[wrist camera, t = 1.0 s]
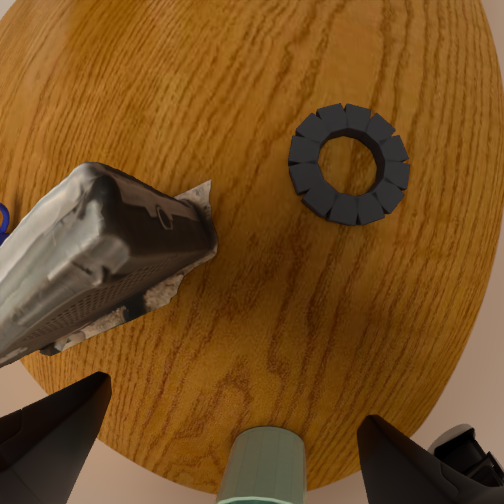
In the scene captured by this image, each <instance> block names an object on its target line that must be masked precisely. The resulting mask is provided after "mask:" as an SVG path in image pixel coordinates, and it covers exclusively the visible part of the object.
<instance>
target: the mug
mask: <svg viewBox="0 0 504 504" xmlns="http://www.w3.org/2000/svg"><path fill="white" fill-rule="evenodd" d="M0 210H1V211H2V213H3V223H2V226H1V227H0V247H1V245H2V244H3V242H4V241H5V239H6V238H7V237H8V236H9V235H10V234H8V233H5V231H6V229H7V227H8V224H9V211H8V209H7V208H6V207H5V206H4V205H3V204H2V203H0Z"/></svg>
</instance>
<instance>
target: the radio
mask: <svg viewBox="0 0 504 504" xmlns="http://www.w3.org/2000/svg"><path fill="white" fill-rule="evenodd" d="M210 183H211V179H210V180H208V181H206V182H204V183H202V184H201V185H199V186H197V187H195V188H193V189H191V190H189V191H187V192H184V193H182V194H180V195H178V196H176V197H174V198H173V197H170V196H168V195H166V194H163V193H161V192H160V191H158V190H156V189H154V188H153V187H152V186H149V185H147V184H145V183H143V182H141V181H140V180H138V179H136V178H135V177H133V176H131V175H128V174H126V173H125V172H122V171H120V170H118V169H115V168H112V167H110V166H108V165H105V164H102V163H97V162H84V163H82V164H81V165H79V166H77V167H76V168H74V170H73V171H72V172H71V174H69V175H68V176H67V177H65V178H64V179H63V180H62V182H61V183H59V184H57V185H56V186H54V187H53V189H52V190H50V191H49V192H48V193H47V194H46V195H45V196H44V197H42V198H41V199H40V200H39V201H38V203H37V204H36V205H35V206H34V208H33V209H32V210H31V211H30V212H29V213H28V214H27V215H26V216H25V217H24V218H23V219H22V220H21V222H20V223H19V225H18V226H17V227H16V229H15V230H14V231H13V232H12V233H11V234H10V235H9V236H8V237H7V238H6V239H5V241H4V242H3V244H2V245H1V247H0V368H1V367H3V366H5V365H8V364H11V363H13V362H15V361H17V360H19V359H20V358H22V357H24V356H25V355H28V354H30V353H32V352H34V351H36V350H41V351H40V353H42V354H44V355H48V356H52V355H55V354H57V353H59V352H61V351H63V350H65V349H67V348H69V347H71V346H74V345H76V344H78V343H80V342H82V341H83V340H85V339H87V338H90V337H92V336H94V335H97V334H99V333H102V332H104V331H107V330H109V329H111V328H114V327H116V326H119V325H121V324H124V323H126V322H129V321H131V320H134V319H136V318H138V317H140V316H142V315H144V314H146V313H148V312H150V311H153V310H155V309H157V308H159V307H162V306H164V305H166V304H169V302H170V298H172V297H174V296H175V295H176V294H177V288H179V284H180V283H181V281H182V280H183V276H185V275H186V274H188V273H189V272H190V271H191V270H192V269H193V268H195V267H197V266H199V265H201V264H203V263H204V262H206V261H208V260H210V259H212V258H213V257H214V256H215V255H216V252H217V245H218V237H217V234H216V231H215V228H214V225H213V222H212V218H211V213H212V210H211V205H210V203H209V199H208V197H209V191H210V188H211V185H210Z"/></svg>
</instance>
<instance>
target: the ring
mask: <svg viewBox="0 0 504 504" xmlns="http://www.w3.org/2000/svg"><path fill="white" fill-rule="evenodd" d="M370 116H371V110H370V109H366V108H363V107H359V106H355V105H351V104H346V106H345V108H344V109H343V107H342V105H341V103H339V104H335V105H331V106H327V107H323V108H320V109H317V112H316V115H315V114H313V113H311V114H310V115H309V116H308V117H307V118H306V119H305V120H304V121H303V122H302V123H301V125H300V126H299V127H298V128H297V129H296V134H295V136H292V142H291V147H290V153H289V158H288V166H290V167H289V174H290V177H291V179H292V182H293V185H294V188H295V190H296V193H297V195H301V194H304V193H306V194H305V196H304V197H303V198H302V200H301V201H302V202H303V203H304V204H305V205H306V206H308V207H309V208H310V209H311V210H312V211H313V212H314V213H315V214H317V215H318V216H319V217H324V216H325V215H326V213H327V215H326V221H330V222H335V223H339V224H344V225H348V226H355V225H365V224H368V223H371V222H374V221H377V220H380V219H383V218H385V215H384V214H391V212H392V211H393V210H394V209H395V207H396V206H397V205H398V203H399V202H400V201H401V200H402V198H403V197H404V196H405V194H404V193H403V192H402V190H406V189H407V186H408V177H409V168H410V165H409V164H406V163H403V162H404V161H406V160H407V159H409V158H408V155H407V152H406V150H405V147H404V145H403V142H402V140H401V138H400V135H397V136H393V137H391V135H392V134H393V133H394V132H395V129H394V128H393V127H392V126H391V125H390V124H389V123H388V122H387V121H386V120H385V119H383V118H382V117H381V116H380V115H379V114H378V113H376V114H375V115H374V116H373V117H372V118H371V119H370ZM340 136H347V137H351V138H355V139H359V140H360V141H361V142H362V143H363V144H365V145H366V146H367V147H368V148H369V149H370V150H371V151H372V153H373V156H374V158H375V161H376V163H377V174H376V181H375V183H374V184H373V185H372V187H371V188H370V189H369V190H368V192H367V193H366V194H363V195H360V196H357V197H356V196H352V195H348V194H343V193H339V192H338V191H336V190H335V189H334V188H333V187H332V186H331V185H330V184H329V183H327V182H326V181H325V180H324V178H323V175H322V172H321V170H320V167H319V165H318V157H319V151H320V148H321V147H322V146H323V145H324V144H325V143H326V142H327V141H328V140H330V139H333V138H337V137H340Z"/></svg>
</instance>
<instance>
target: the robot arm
mask: <svg viewBox="0 0 504 504" xmlns="http://www.w3.org/2000/svg"><path fill="white" fill-rule="evenodd" d="M111 395H112V388H111V377H110V375H108V374H106V373H103V372H101V371H98V372H96V373H94V374H92V375H90V376H88V377H86V378H84V379H82V380H80V381H78V382H76V383H74V384H72V385H70V386H68V387H66V388H64V389H62V390H60V391H58V392H55V393H53V394H51V395H49V396H47V397H45V398H43V399H41V400H39V401H37V402H35V403H32V404H30V405H28V406H26V407H24V408H22V410H21V409H20V410H17V411H15V412H13V413H10V414H8V415H6V416H3V417H1V418H0V504H66V503H67V500H68V498H69V496H70V494H71V491H72V489H73V487H74V484H75V482H76V480H77V478H78V475H79V473H80V471H81V469H82V467H83V465H84V462H85V460H86V458H87V456H88V454H89V452H90V450H91V448H92V445H93V444H94V441H95V439H96V437H97V435H98V433H99V430H100V428H101V425H102V422H103V419H104V416H105V413H106V410H107V407H108V405H109V402H110V399H111ZM474 431H475V429H474V428H473V427H472V428H470V429H469V430H467V431H465V432H464V433H462V434H460V435H458V436H457V437H455V438H453V439H451V440H449V441H447V442H445V443H443V444H442V445H440V446H438V447H436V448H435V449H434V455H432V454H430V453H429V452H427V451H426V450H425V449H423V448H422V447H420V446H419V445H417V444H416V443H415V442H414V441H412V440H411V439H410V438H408V437H407V436H405V435H404V434H403V433H401V432H400V431H399V430H397V429H396V428H395V427H393V426H392V425H391V424H389V423H388V422H387V421H386V420H384V419H383V418H382V417H380V416H379V415H368V416H366V418H365V419H364V421H363V422H362V424H361V425H360V426H359V428H358V430H357V440H358V449H359V457H360V465H361V471H362V475H363V479H364V484H365V488H366V493H367V498H368V502H369V504H504V469H503V468H502V466H501V465H500V463H499V462H498V461H497V459H496V458H495V457H494V456H493V455H492V454H491V452H490V451H489V452H488V453H487V455H486V454H485V452H484V451H483V450H482V448H481V447H480V445H479V444H478V442H477V441H476V440H475V438H474V437H473V436H474ZM493 465H494V466H493ZM492 466H493V467H492Z"/></svg>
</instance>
